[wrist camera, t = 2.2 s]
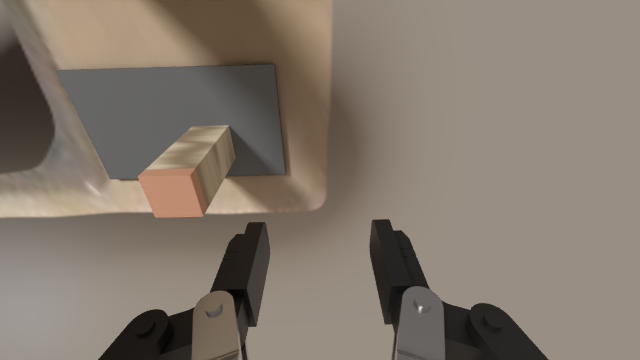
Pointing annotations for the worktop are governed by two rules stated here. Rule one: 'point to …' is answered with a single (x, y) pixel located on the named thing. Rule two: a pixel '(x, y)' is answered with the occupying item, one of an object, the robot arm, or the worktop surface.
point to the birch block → (189, 172)
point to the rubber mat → (178, 113)
